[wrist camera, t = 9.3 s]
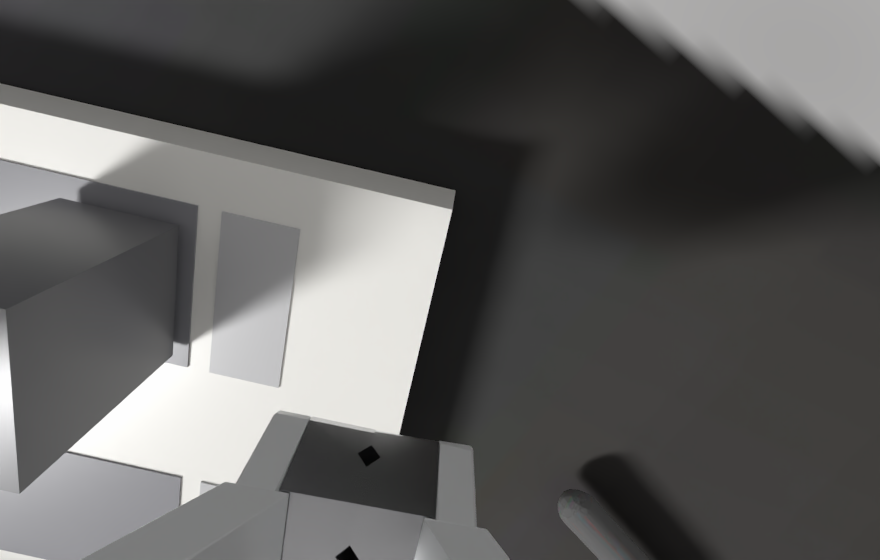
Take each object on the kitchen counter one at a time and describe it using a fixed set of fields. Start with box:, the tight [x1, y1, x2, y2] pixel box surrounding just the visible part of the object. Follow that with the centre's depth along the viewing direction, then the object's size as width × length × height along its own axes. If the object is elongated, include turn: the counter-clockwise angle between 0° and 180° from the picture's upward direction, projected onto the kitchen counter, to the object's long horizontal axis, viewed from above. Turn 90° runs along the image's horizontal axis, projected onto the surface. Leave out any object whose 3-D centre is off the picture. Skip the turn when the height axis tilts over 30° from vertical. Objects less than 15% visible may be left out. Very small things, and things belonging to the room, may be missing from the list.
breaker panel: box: [0, 83, 456, 560], centre depth 15 cm, size 20×20×2 cm
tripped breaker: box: [0, 198, 179, 494], centre depth 9 cm, size 2×3×4 cm
